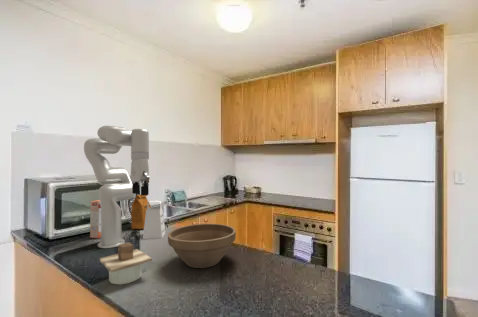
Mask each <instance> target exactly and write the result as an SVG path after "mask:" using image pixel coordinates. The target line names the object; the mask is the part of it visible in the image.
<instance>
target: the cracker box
mask: <svg viewBox="0 0 478 317" xmlns="http://www.w3.org/2000/svg"><path fill="white" fill-rule="evenodd" d="M89 218H90V222H89V224H90V226H89V229H90V230H89V238H90V239H101V204H100V199H97V200H91V201H90V215H89Z"/></svg>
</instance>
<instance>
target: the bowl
mask: <svg viewBox="0 0 478 317" xmlns="http://www.w3.org/2000/svg"><path fill="white" fill-rule="evenodd" d="M142 265H143V264H140V265H136V266H133V267H129V268H126V269H122V270H119V271H115V272H112V273H111V272H110V271H109V270H108V282H110V284H114V285H126V284H129V283H132V282H136V281H137V280H138V279H141V276H142V273H143V272H142V268H143V267H142Z"/></svg>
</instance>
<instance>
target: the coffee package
mask: <svg viewBox="0 0 478 317" xmlns="http://www.w3.org/2000/svg"><path fill="white" fill-rule="evenodd" d="M147 196H148V195H143V196H142V195H141V194H136V195H135V198H134V200H133V201H132V204H131V214H130V217H131V230H144V225H145V216H146V210H147V203H148V202H149V201H148V198H147ZM149 208H152V206H151V203H149Z"/></svg>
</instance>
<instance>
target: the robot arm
mask: <svg viewBox="0 0 478 317" xmlns="http://www.w3.org/2000/svg"><path fill="white" fill-rule="evenodd" d="M149 135H150V132H149V130H147V129H145V128H134V129H126V128H124V127H121V126H115V125H102V126H100V127H99V128H98V130H97V137H98V138H95V137H94V138H89V139H87V140H85V142H84V144H83V152H84V153H83V154H84V155H85V157H86V160H87V161H88V163H89V164H90V165H91V167H92V170H93V172H94V176H95V178H96V181H97V183H98V184H99V185H101V186H100V187H99V189H98V197H99V200H100V204H101V238H100V242H98V243H97V247H98V248H100V249H113V248H116V247H117V248H118V245H119V244H124V243H126V242H125V239H123V238H122V208H121V206H120V205H119V204H118V202H121V201H128V200H129V201H130V200H132V199H133V198H134V197H135V196H136V194H140V195H142V196H143V195H147V196H149V192H150V191H149V186H150V184H149V183H150V169H149V167H150V166H149V160H150V147H149V146H150V136H149ZM122 147H130V152H131V153H130V160H131V163H130V174H129V172H128V170H127V169H126V168H124V167H121V166H120V167H119V166H118V167H112V166H111V164H110V162H109V160H108V159H107V158H106V157H105V156H103V155H115V154H118V153H119V151H120V150H121V149H122ZM140 184H141V185H140Z"/></svg>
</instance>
